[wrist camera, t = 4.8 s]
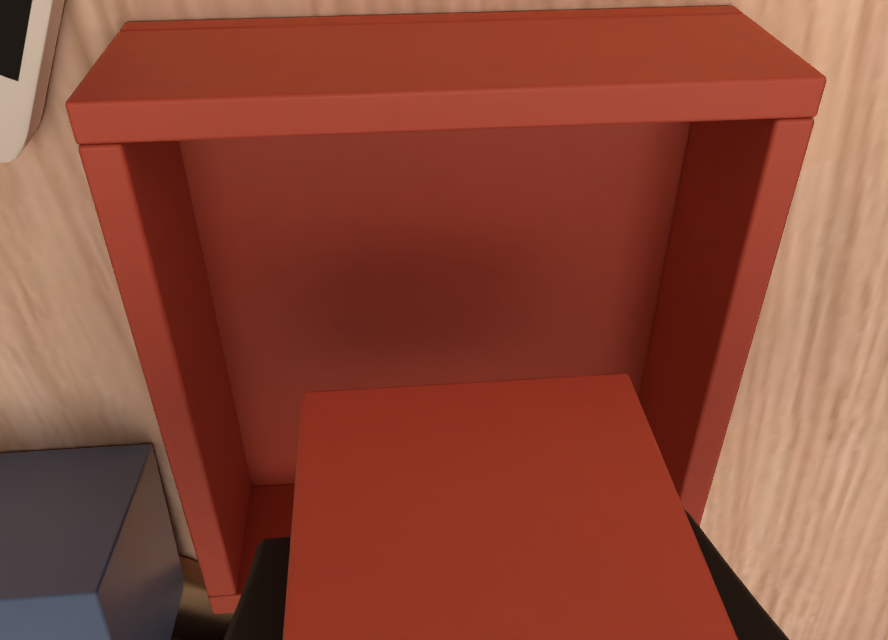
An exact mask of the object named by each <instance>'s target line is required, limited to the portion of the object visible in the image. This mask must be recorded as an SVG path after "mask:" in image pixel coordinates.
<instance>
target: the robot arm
mask: <svg viewBox="0 0 888 640" xmlns="http://www.w3.org/2000/svg"><path fill="white" fill-rule="evenodd" d="M684 510H685V509H684ZM685 513H686V515H687V518H688V520H689V522H690V525H691V527H692V530H693V532H694V534H695V537H696V539H697V542H698V544H699V547H700V549H701V551H702V554H703V556H704V559H705V561H706V563H707V566H708V568H709V571H710V573H711V576H712V578H713V580H714V583H715V585H716V588H717V590H718V593H719V595H720V597H721V600H722V602H723V605H724V607H725V609H726V612H727V614H728V617H729V619H730V622H731V624H732V626H733V629H734V631H735V634H736V636H737V638H738V640H789V639H788V637H787V636H786V635H785V634H784V633H783V632H782V630H781V629H780V628H779V627H778V626H777V625H776V623H775V622H774V621H773V620H772V619H771V617H770V616H769V615H768V614H767V613H766V611H765V610H764V609H763V608H762V606H761V605H760V604H759V603H758V602H757V600H756V599H755V598H754V597H753V595H752V594H751V593H750V592H749V590H748V589H747V588H746V587H745V585H744V584H743V583H742V582H741V580H740V579H739V578H738V577H737V575H736V574H735V573H734V572H733V570H732V569H731V568H730V566H729V565H728V564H727V562H726V561H725V560H724V559H723V557H722V556H721V555H720V553H719V552H718V551H717V549H716V548H715V547H714V546H713V544H712V543H711V542H710V540H709V539H708V538H707V536H706V535H705V534H704V532H703V531H702V530H701V528H700V527H699V526H698V524H697V523H696V522H695V520H694V519H693V518H692V516H691V515H690V514H689V513H688V512H687V511H686V510H685ZM290 540H291V537H280V538H266V539H264V540H262V541H261V542H260V543H259V544H258V545H257V548H256V551H255V555H254V558H253V561H252V565H251V568H250V571H249V574H248V577H247V580H246V583H245V586H244V588H243V591H242V594H241V597H240V599H239V602H238V605H237V607H236V610H235V612H234V615H233V617H232V620H231V622H230V625H229V627H228V630H227V632H226V635H225V637H224V640H283V629H284V616H285V603H286V591H287V578H288V565H289V553H290Z"/></svg>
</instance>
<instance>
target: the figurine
mask: <svg viewBox="0 0 888 640" xmlns="http://www.w3.org/2000/svg"><path fill="white" fill-rule="evenodd" d="M179 560H180V564H181V568H182V572H183V576H184V580H183V587H184V589H183V593H182V597H181V601H180V605H179V608H178V612H177V616H176V620H175V624H174V628H173V632H172V636H171V640H224V637H225V635H226V632H227V630H228V627H229V625H230V622H231V620H232V617H233V615H234V613H221V614H213V612H212V609H211V605H210V602H209V599H208V596H209V595H208V593H207V590H206V587H205V583H204V580H203V576H202V573H201V569H200V566H199V563H198V562H197V561H194V560H191V559H188V558H185V557H182V556H179Z"/></svg>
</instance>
